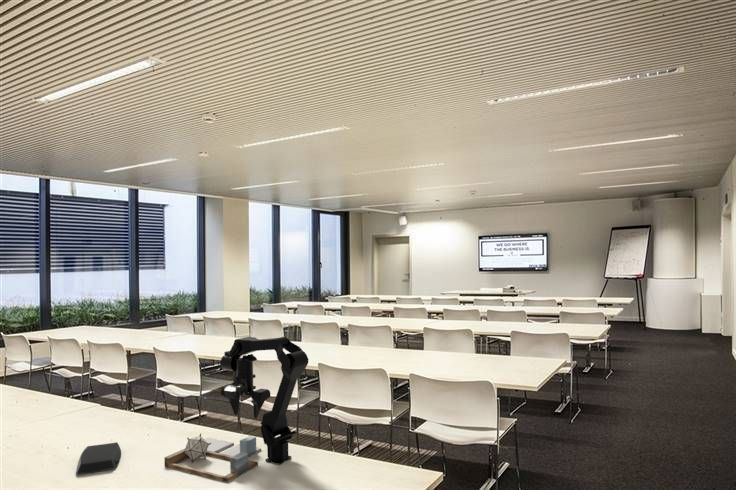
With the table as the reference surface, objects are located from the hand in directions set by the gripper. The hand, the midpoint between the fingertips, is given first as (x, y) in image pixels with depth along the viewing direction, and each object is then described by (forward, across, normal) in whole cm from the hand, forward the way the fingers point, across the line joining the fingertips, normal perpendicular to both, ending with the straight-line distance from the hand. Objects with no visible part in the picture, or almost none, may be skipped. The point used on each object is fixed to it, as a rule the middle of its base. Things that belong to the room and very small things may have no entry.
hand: (245, 416), depth 191 cm
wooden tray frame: (+12, -1, -16) cm, 20 cm away
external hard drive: (+13, -39, -30) cm, 51 cm away
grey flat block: (+12, -8, -3) cm, 15 cm away
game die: (+12, -10, -14) cm, 21 cm away
